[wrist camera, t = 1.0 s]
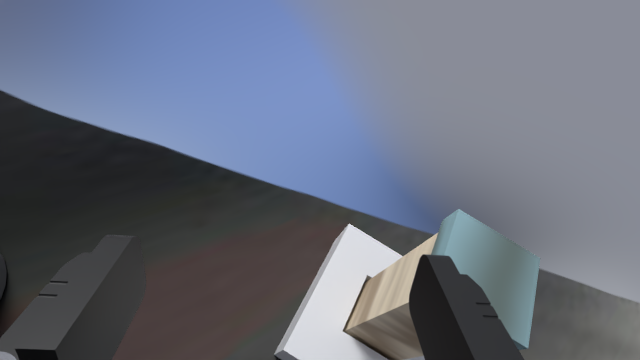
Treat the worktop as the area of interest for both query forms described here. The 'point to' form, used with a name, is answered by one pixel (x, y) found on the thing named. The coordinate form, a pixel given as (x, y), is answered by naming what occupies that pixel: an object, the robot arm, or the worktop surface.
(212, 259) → the worktop surface
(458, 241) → the plug
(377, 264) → the white square stand
